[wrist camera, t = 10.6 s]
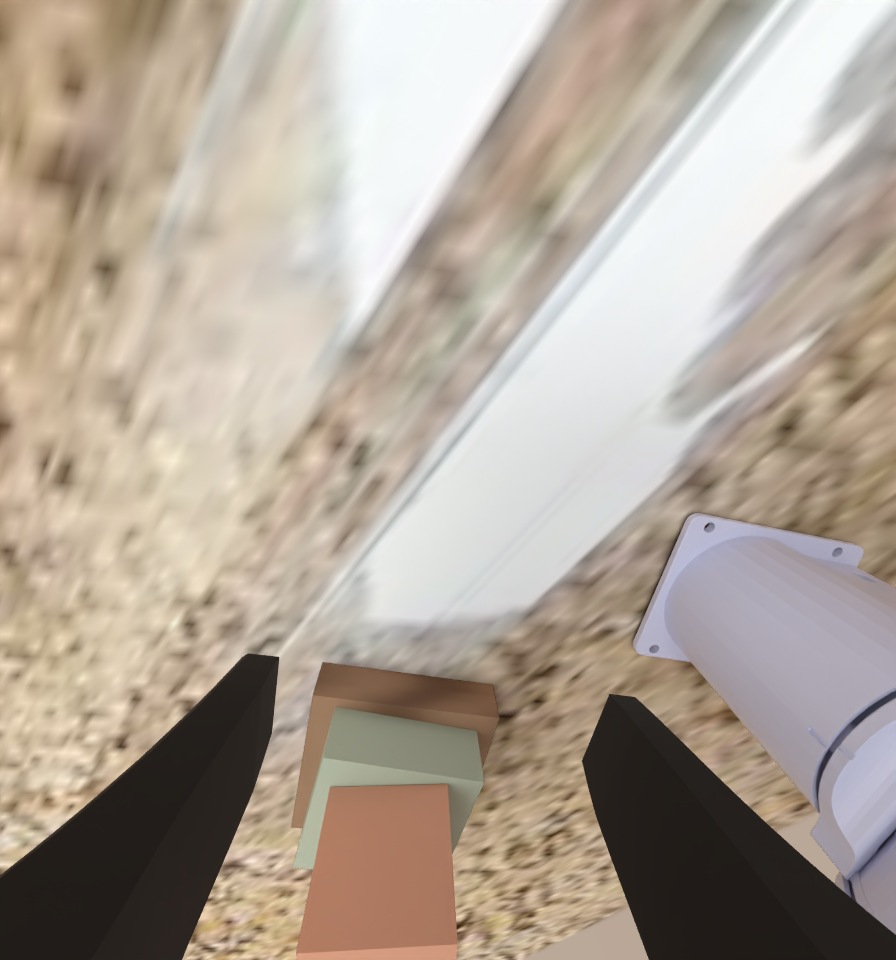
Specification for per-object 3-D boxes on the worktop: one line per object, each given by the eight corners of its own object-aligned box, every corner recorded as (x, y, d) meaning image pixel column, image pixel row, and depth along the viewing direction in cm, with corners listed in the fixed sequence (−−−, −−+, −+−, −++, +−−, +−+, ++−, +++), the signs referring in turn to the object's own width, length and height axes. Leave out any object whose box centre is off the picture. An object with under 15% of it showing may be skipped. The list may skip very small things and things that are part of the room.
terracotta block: (447, 784, 18) (457, 944, 13) (442, 859, 19) (449, 1026, 15) (329, 787, 17) (295, 953, 13) (334, 863, 19) (306, 1036, 14)
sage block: (476, 730, 20) (484, 782, 18) (437, 826, 22) (439, 883, 20) (335, 706, 19) (323, 757, 17) (307, 808, 21) (293, 867, 19)
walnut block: (491, 678, 23) (499, 718, 20) (453, 793, 25) (457, 840, 23) (324, 655, 21) (312, 695, 19) (303, 779, 24) (290, 827, 22)
